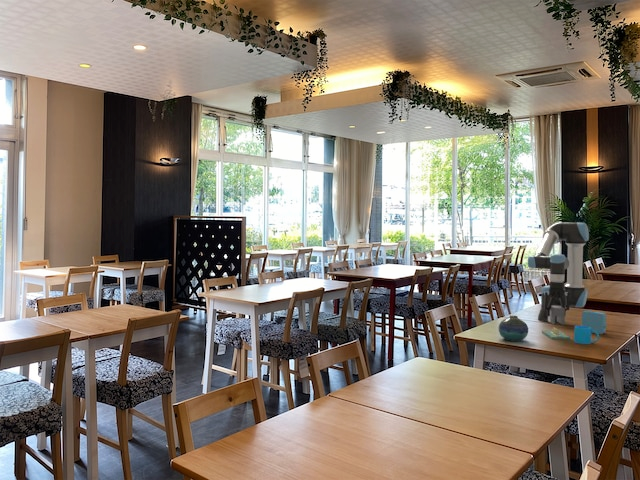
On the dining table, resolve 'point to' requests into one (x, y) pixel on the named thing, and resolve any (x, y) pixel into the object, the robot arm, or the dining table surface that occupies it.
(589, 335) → the mug
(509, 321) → the vase
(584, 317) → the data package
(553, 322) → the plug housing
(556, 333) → the header board
